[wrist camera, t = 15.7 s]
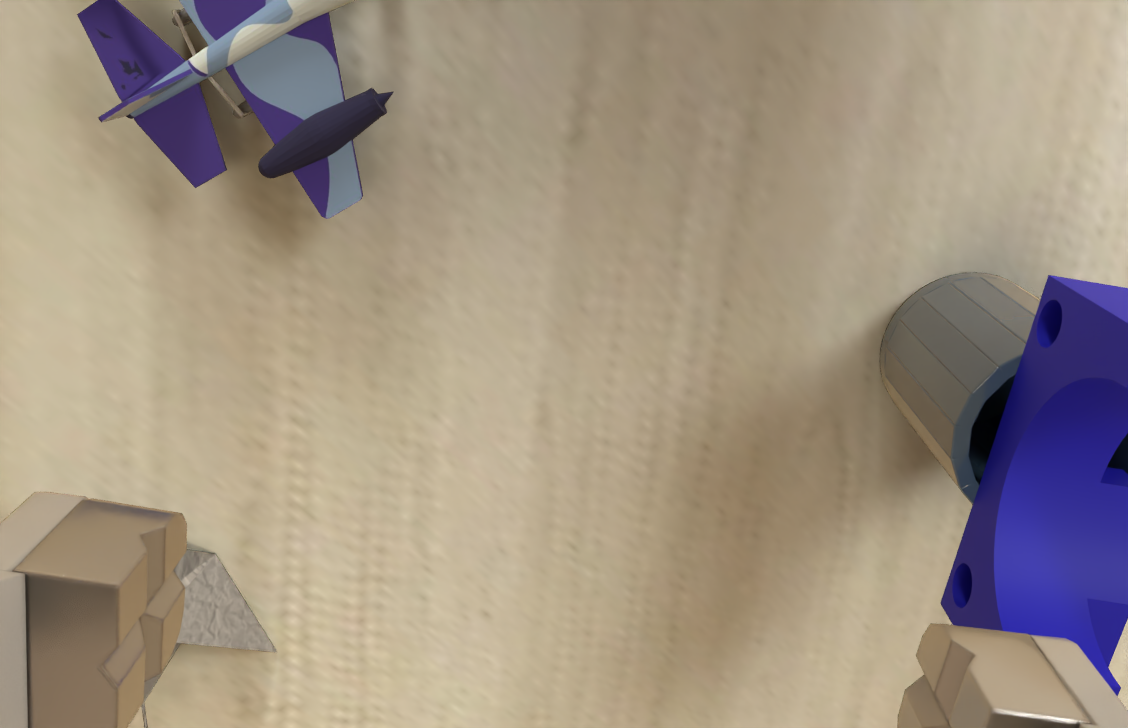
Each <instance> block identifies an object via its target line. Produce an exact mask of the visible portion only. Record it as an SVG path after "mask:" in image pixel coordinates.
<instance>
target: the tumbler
mask: <svg viewBox="0 0 1128 728" xmlns="http://www.w3.org/2000/svg"><path fill="white" fill-rule="evenodd" d="M1040 300H1041V299H1039V298H1038V297H1036V296H1035V295H1033V294H1031V293H1030V292H1028V291H1026V290H1025V289H1023V288H1022V287H1020V286H1019V285H1017V284H1015V283H1013V282H1012V281H1010V280H1008V279H1005V278H1003V277H1000V276H997V275H992V274H988V273H977V272H973V273H961V274H955V275H951V276H947V277H944V278H941V279H939V280H936V281H934V282H932V283H930V284H928V285H926V286H925V287H923V288H921V289H920V290H919V291H917V292H916V293H914V294H913V295H912V296H911V297H910V298H909V299H908V300H907V301H905V302H904V304H903V305H902V306H901V307H900V308H899V309H898V311H897V312H896V313H895V315H894V317H893V318H892V320H891V321H890V323H889V325H888V327H887V329H886V332H885V335H884V338H883V341H882V346H881V351H880V369H881V375H882V379H883V382H884V385H885V387H886V390H887V392H888V393H889V395H890V397H891V398H892V400H893V402H894V403H895V405H896V406H897V407H898V409H899V410H900V411H901V413H902V414H903V415H904V416H905V418H906V419H907V420H908V422H909V423H910V424H911V426H912V427H913V428H914V430H915V431H916V432H917V434H918V435H919V436H920V438H921V439H922V440H923V441H924V443H925V444H926V445H927V447H928V448H929V449H930V451H931V452H932V453H933V455H934V456H935V457H936V459H937V460H938V461H939V463H940V464H941V465H942V467H943V468H944V469H945V470H946V472H947V473H948V474H949V476H950V477H951V478H952V480H953V481H954V482H955V484H956V485H957V486H958V488H959V489H960V490H961V491H962V493H963V494H964V495H965V496H966V497H967V499H968V500H969V501H970V502H971V503H972V505H973V503H974V500H975V497H976V494H977V491H978V488H979V485H980V482H981V479H982V476H983V473H984V470H985V467H986V464H987V461H988V458H989V455H990V452H991V449H992V446H993V443H994V439H995V436H996V433H997V430H998V427H999V424H1000V421H1001V418H1002V415H1003V412H1004V409H1005V406H1006V403H1007V400H1008V397H1009V394H1010V391H1011V388H1012V385H1013V382H1014V379H1015V376H1016V373H1017V370H1018V367H1019V364H1020V361H1021V358H1022V355H1023V352H1024V348H1025V345H1026V342H1027V339H1028V336H1029V333H1030V330H1031V327H1032V324H1033V321H1034V318H1035V315H1036V312H1037V309H1038V306H1039V303H1040ZM1107 467H1109V468H1116V469H1122V470H1124V471H1125V472H1126V473H1127V474H1128V433H1127V435H1126V436H1125V437H1124V439H1123V440H1122V441H1121V443H1120V444H1119V446H1118V448H1117V449H1116V451H1115V452H1114V454H1113V456H1112V458H1111V460H1110V462H1109V463H1108V466H1107Z"/></svg>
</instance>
